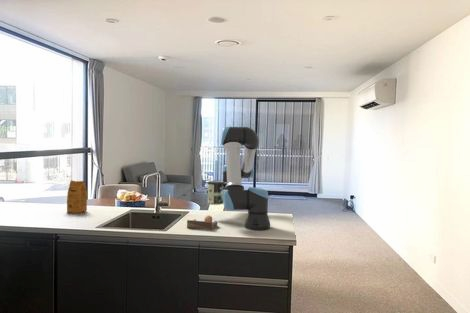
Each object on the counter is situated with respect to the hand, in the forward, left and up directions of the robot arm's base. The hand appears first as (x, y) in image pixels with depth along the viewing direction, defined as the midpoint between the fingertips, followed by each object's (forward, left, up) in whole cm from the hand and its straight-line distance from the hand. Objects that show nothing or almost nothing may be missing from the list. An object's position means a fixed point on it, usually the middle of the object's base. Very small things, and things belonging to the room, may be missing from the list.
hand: (213, 192), depth 224 cm
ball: (-6, +6, -15) cm, 18 cm away
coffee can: (+3, -3, -8) cm, 9 cm away
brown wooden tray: (-12, +13, -18) cm, 25 cm away
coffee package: (+68, +71, -18) cm, 100 cm away
